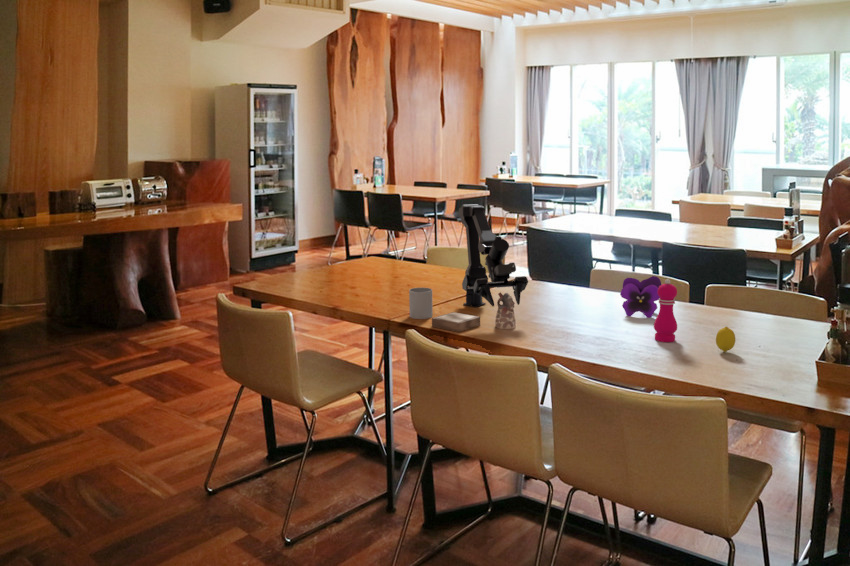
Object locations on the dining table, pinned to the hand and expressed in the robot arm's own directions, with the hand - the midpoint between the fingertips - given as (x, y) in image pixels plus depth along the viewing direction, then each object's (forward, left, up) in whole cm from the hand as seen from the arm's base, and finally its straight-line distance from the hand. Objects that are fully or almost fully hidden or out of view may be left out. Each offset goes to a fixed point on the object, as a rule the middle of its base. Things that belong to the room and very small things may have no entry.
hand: (506, 305), depth 265 cm
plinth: (+10, -14, -8) cm, 19 cm away
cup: (+7, -33, -8) cm, 35 cm away
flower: (-48, +27, -8) cm, 55 cm away
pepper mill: (-18, +50, -8) cm, 53 cm away
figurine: (0, -1, -8) cm, 8 cm away
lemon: (-16, +69, -8) cm, 72 cm away
